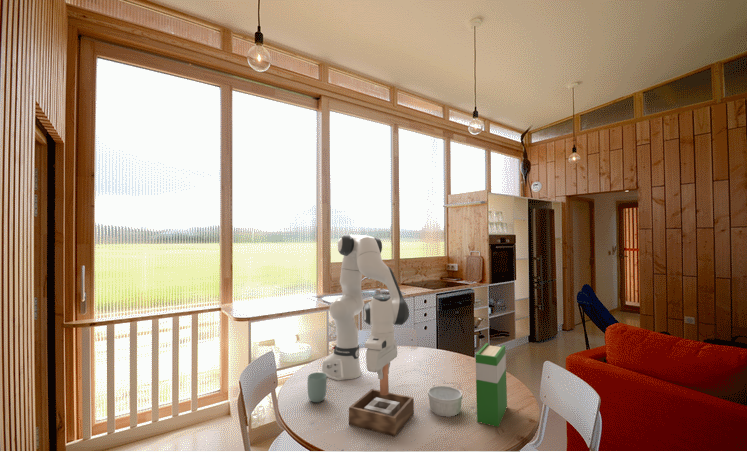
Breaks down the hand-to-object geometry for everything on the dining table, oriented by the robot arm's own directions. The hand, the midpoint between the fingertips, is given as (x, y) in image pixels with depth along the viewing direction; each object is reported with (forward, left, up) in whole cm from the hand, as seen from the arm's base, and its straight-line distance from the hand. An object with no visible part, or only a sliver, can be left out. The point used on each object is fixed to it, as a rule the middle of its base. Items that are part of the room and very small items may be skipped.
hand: (383, 376), depth 126 cm
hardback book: (+35, +22, -16) cm, 44 cm away
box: (-1, 0, -15) cm, 15 cm away
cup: (-32, +2, -16) cm, 35 cm away
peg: (0, 0, -6) cm, 6 cm away
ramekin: (+18, +17, -16) cm, 29 cm away
